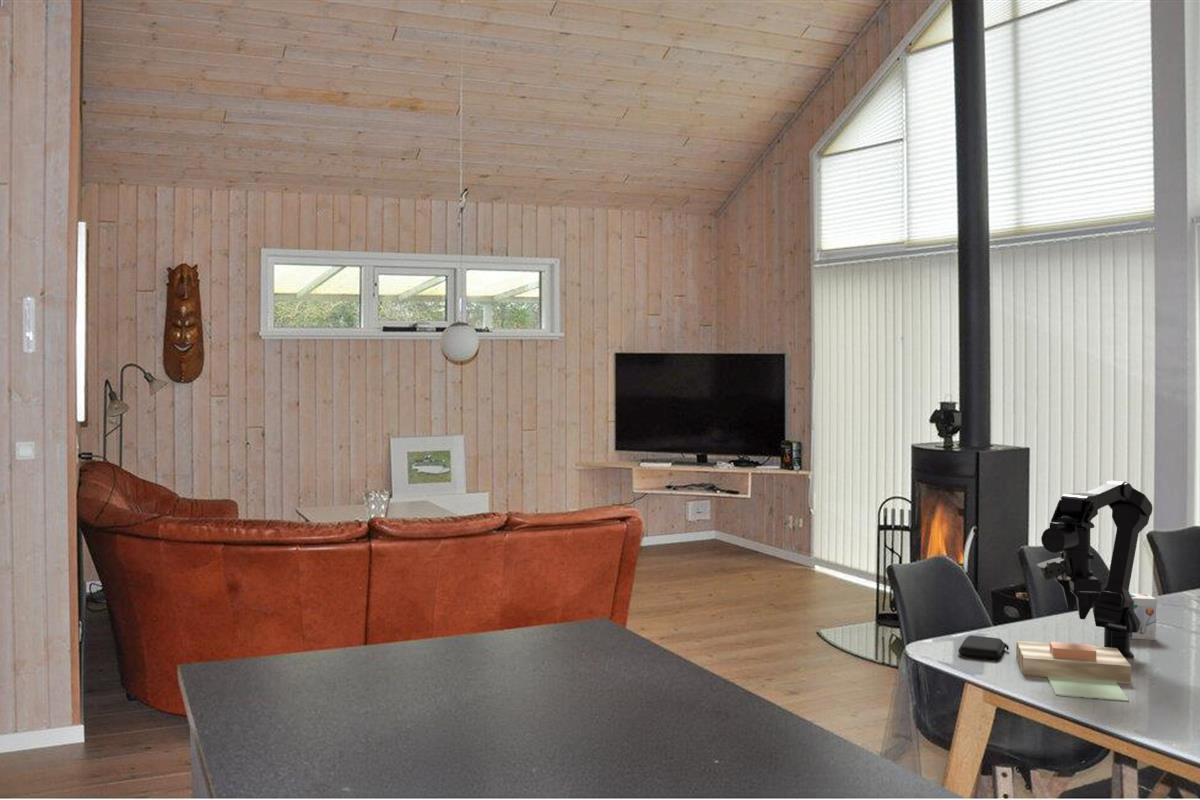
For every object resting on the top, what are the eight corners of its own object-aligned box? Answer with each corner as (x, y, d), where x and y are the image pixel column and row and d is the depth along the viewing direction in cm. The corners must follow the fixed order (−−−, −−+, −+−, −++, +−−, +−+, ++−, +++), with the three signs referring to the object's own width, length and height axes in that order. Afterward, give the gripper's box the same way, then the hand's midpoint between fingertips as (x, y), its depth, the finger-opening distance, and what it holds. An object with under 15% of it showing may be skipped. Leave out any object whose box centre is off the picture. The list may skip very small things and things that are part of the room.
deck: (1016, 657, 247) (1016, 640, 247) (1116, 664, 241) (1116, 648, 241) (1023, 675, 232) (1023, 657, 232) (1130, 683, 226) (1131, 666, 225)
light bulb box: (1112, 638, 267) (1113, 597, 266) (1104, 632, 273) (1105, 591, 273) (1157, 640, 265) (1157, 598, 264) (1148, 633, 271) (1148, 593, 271)
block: (1049, 650, 239) (1049, 641, 239) (1091, 653, 236) (1091, 644, 236) (1052, 656, 233) (1053, 647, 233) (1096, 660, 230) (1096, 651, 230)
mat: (1047, 677, 230) (1047, 675, 230) (1115, 682, 226) (1115, 681, 226) (1055, 695, 217) (1055, 693, 217) (1128, 701, 213) (1128, 700, 213)
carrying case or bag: (1004, 664, 242) (1010, 650, 255) (1004, 651, 242) (1010, 638, 255) (957, 658, 247) (965, 644, 260) (957, 646, 247) (965, 633, 260)
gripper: (1030, 541, 250) (1030, 604, 250) (1051, 554, 232) (1050, 622, 232) (1078, 542, 248) (1078, 606, 249) (1103, 555, 230) (1103, 624, 230)
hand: (1076, 614), depth 240 cm, fingers open, 9 cm apart
